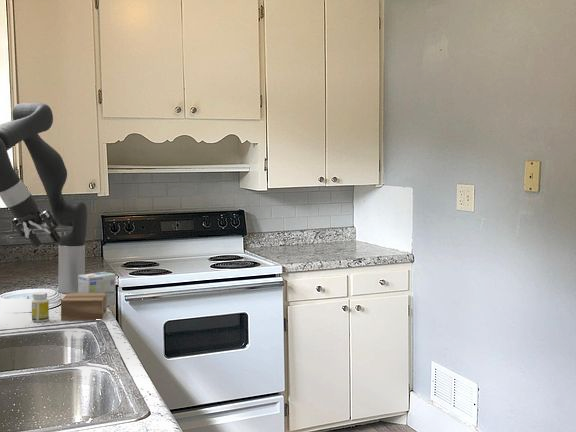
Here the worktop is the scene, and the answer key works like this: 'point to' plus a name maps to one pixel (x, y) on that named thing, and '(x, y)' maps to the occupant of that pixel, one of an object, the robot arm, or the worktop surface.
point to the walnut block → (83, 306)
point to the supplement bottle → (40, 307)
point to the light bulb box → (98, 285)
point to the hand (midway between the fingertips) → (48, 243)
